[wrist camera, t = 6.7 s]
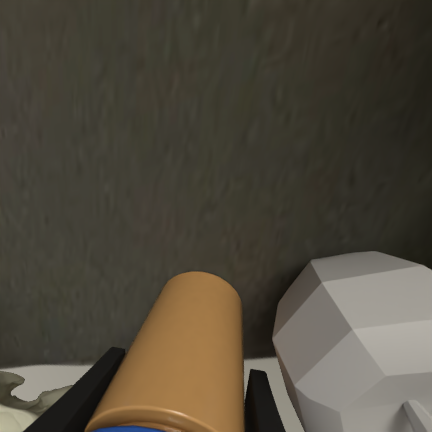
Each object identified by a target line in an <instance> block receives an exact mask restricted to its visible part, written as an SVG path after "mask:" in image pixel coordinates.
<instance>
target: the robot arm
mask: <svg viewBox="0 0 432 432" xmlns="http://www.w3.org/2000/svg"><path fill="white" fill-rule="evenodd" d="M124 357H125V349H122V348H116V347H112V348H110V349H109V350H108V351H107V352H106V353H105V354H104V355H103V356H102V357H101V358H100V359H99V360H98V362H97V363H96V364H95V365H94V366H93V367H92V368H91V369H90V370H89V371H88V372H86V373H85V374H84V375H83V376H82V378H80V380H78V381H77V382H76V383H75V384H74V385H73V386H72V387H71V388H70V389H69V390H68V391H67V392H66V393H65V394H64V395H63V396H62V397H61V398H59V399H58V400H57V401H56V402H55V403H54V404H53V405H52V406H51V407H50V408H48V409H47V410H46V411H45V412H44V413H43V414H42V415H41V416H40V417H38V418H37V419H36V420H35V421H34V422H33V423H32V424H31V425H29V426H28V427H27V428H26V429H25V430H24V431H22V432H84V430H85V427H86V426H87V424H88V422H89V420H90V418H91V416H92V415H93V413H94V411H95V409H96V407H97V406H98V404H99V402H100V400H101V398H102V397H103V395H104V393H105V391H106V389H107V387H108V386H109V384H110V382H111V380H112V378H113V377H114V375H115V373H116V371H117V369H118V367H119V366H120V364H121V362H122V360H123V358H124ZM245 432H286V431H285V429H284V426H283V424H282V421H281V418H280V415H279V413H278V410H277V407H276V404H275V401H274V398H273V395H272V391H271V388H270V385H269V381H268V378H267V374H266V372H265V371H260V370H254V369H251V370H250V374H249V380H248V386H247V391H246V398H245Z"/></svg>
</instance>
